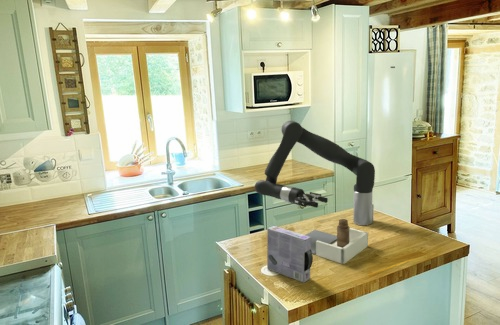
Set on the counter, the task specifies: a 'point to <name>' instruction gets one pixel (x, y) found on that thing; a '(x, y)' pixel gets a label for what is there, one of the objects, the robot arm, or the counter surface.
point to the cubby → (342, 255)
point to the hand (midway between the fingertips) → (322, 202)
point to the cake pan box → (289, 253)
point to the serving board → (320, 238)
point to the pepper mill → (343, 233)
